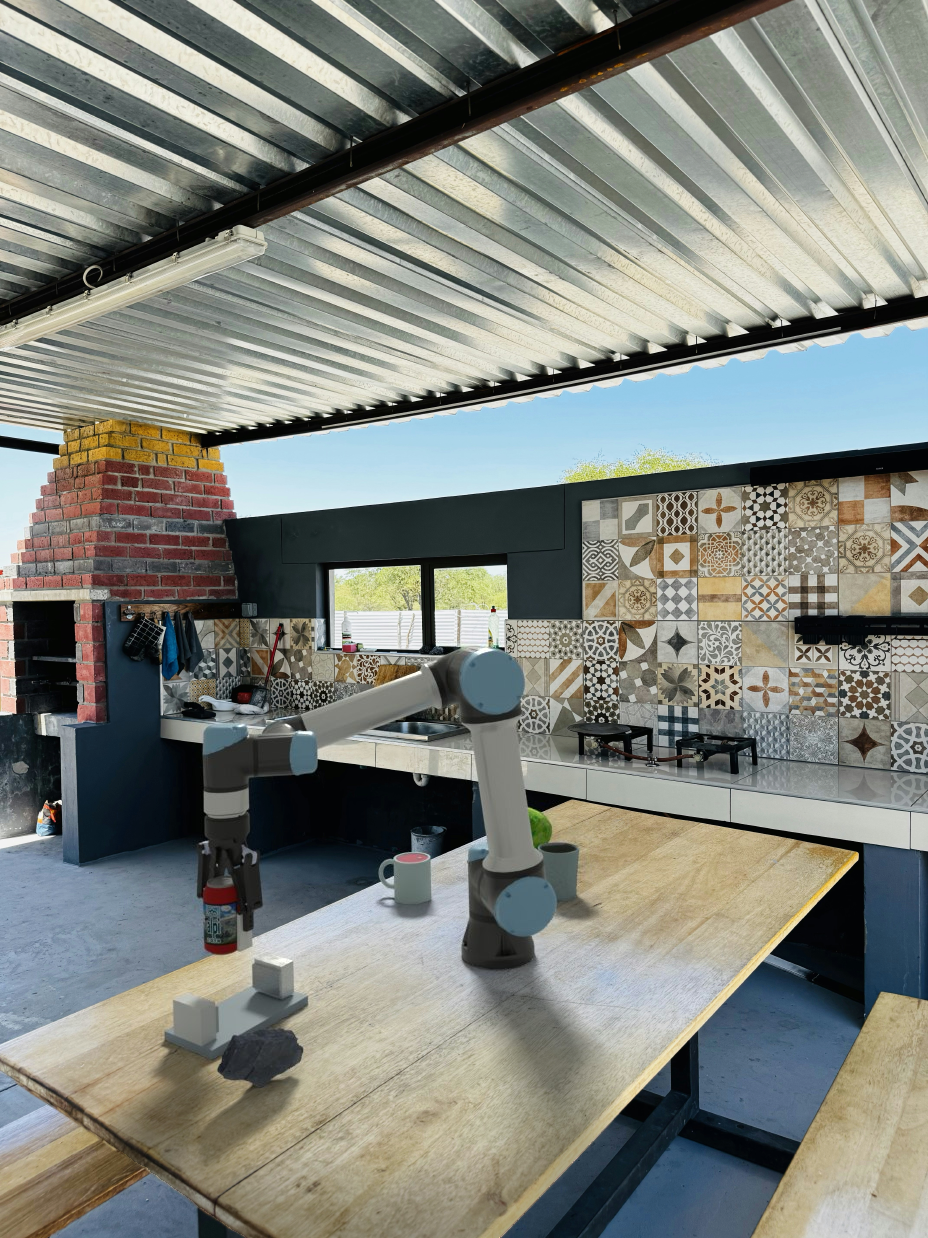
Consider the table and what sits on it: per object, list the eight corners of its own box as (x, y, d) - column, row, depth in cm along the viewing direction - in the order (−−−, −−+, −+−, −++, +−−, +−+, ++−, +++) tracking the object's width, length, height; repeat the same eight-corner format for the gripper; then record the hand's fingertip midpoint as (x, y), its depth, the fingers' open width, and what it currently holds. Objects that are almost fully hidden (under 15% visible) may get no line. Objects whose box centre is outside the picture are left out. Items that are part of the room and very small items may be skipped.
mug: (436, 893, 211) (435, 853, 211) (423, 906, 202) (422, 864, 202) (387, 888, 216) (386, 849, 216) (371, 900, 207) (370, 860, 207)
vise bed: (308, 1004, 154) (307, 963, 153) (212, 1060, 135) (211, 1013, 135) (262, 988, 160) (261, 949, 160) (164, 1040, 142) (163, 996, 142)
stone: (280, 1059, 135) (279, 998, 134) (309, 1069, 132) (308, 1006, 131) (215, 1106, 123) (213, 1038, 122) (246, 1117, 120) (244, 1048, 119)
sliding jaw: (294, 993, 154) (293, 960, 154) (279, 1001, 151) (278, 968, 151) (267, 984, 158) (266, 952, 158) (252, 992, 155) (251, 959, 155)
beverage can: (196, 956, 143) (194, 886, 142) (217, 940, 149) (215, 873, 149) (232, 959, 141) (230, 888, 141) (251, 943, 148) (250, 875, 147)
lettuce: (501, 842, 256) (513, 798, 257) (556, 864, 243) (567, 818, 244) (473, 841, 244) (484, 795, 246) (528, 864, 232) (540, 816, 233)
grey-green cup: (533, 900, 205) (532, 851, 205) (545, 886, 214) (544, 840, 214) (574, 904, 201) (573, 855, 201) (584, 891, 210) (583, 843, 210)
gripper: (283, 815, 143) (286, 948, 144) (206, 802, 154) (209, 926, 155) (250, 825, 137) (253, 964, 138) (172, 810, 148) (175, 940, 148)
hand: (230, 944), depth 146 cm, fingers closed on beverage can, 7 cm apart
